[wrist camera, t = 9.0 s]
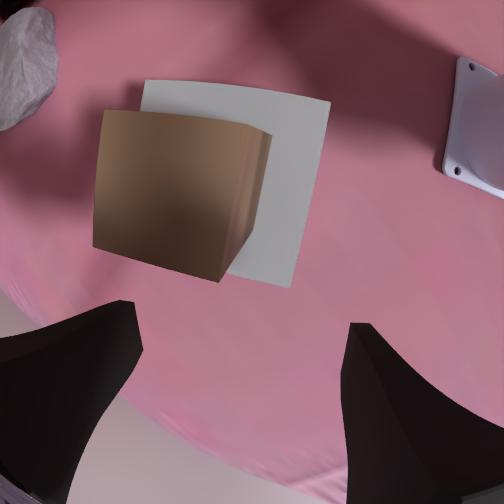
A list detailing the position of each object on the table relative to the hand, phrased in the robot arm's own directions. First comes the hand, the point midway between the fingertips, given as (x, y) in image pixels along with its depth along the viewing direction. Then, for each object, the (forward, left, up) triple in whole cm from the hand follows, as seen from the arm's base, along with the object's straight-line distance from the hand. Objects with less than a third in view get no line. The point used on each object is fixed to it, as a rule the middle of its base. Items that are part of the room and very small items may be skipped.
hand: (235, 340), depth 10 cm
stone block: (+25, -10, -10) cm, 29 cm away
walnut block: (+3, -4, -6) cm, 8 cm away
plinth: (+3, -4, -10) cm, 11 cm away
